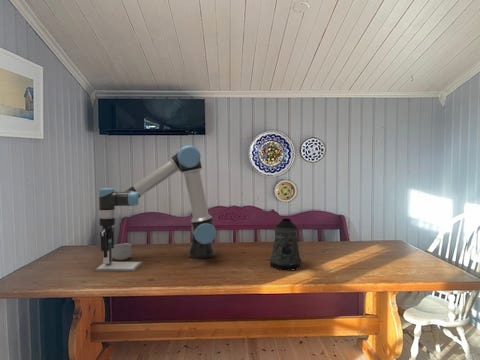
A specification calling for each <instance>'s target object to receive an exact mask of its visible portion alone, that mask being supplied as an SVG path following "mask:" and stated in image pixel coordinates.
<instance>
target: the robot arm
mask: <svg viewBox="0 0 480 360" xmlns="http://www.w3.org/2000/svg"><path fill="white" fill-rule="evenodd" d="M201 157H202V155H201V153H200V150H199V149H198V148H197V147H195V146H194V145H184V146H182V147H181V148H180V149H179V150H178V151H177V152H176V153H175V154H174V155H172V156H171V157H170V158H169V161H167V162H166V163H164V164H162V165H161V166H160V167H159V168H157V169H156V170H154V171H153V172H151V173H149V174H148V175H146V176H145V177H144V178H142V179H141V180H139V181H138V182H136V183H135V184H133V185H132V186H131V187H129V188H127V189H126V190H124V191H115V188H114V187H101V188H100V189H99V195H98V205H99V209H98V210H99V211H98V213H99V226H101V227H102V231H100V232H99V235H100V251H101V252H102V254H103V255H102V256H103V257H102V258H103V263H102V264H109V251H108V244H109V239H111V249H112V248H114V247H113V246H114V245H115V227H113V226H115V224H116V209H115V208H116V207H135V206H138V205H139V200H140V198H141V197H142V196H144V195H145V194H147V193H148V192H150V191H151V190H153V189H154V188H156V187H157V186H158V185H160V184H161V183H163V182H165V180H168V179H169V178H170V177H172V176H173V175H174V174H176V173H177V172H180V173H181V174H182V175H184V179H185V180H184V181H185V183H186V184H185V185H186V190H187V193H188V199H189V203H190V204H189V205H190V208H191V213H192V217H191V220H190V224H191V244H190V246H189V249H188V257H190V258H193V259H209V258H212V257H214V256H215V249H214V247H213V241H214V240H215V239H216V236H217V229H216V227H215V225H214V221H213V216H212V215H210V214H209V210H208V205H207V198H206V194H205V190H204V189H205V188H204V185H203V182H202V181H203V180H202V176H201V172H202V169H203V167H202V161H201ZM208 257H209V258H208Z"/></svg>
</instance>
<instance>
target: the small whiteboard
mask: <svg viewBox="0 0 480 360" xmlns="http://www.w3.org/2000/svg"><path fill="white" fill-rule="evenodd" d="M142 264H143V261H112V264H110V265H105V264H103V263H101V264H100V265H99V266H97V267H96V268H94V271H95V272H135V271H136V270H137V269H138V268H139V267H140V266H141V265H142Z"/></svg>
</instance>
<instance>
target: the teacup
mask: <svg viewBox="0 0 480 360" xmlns="http://www.w3.org/2000/svg"><path fill="white" fill-rule="evenodd" d="M113 247H114V248H112V259H115V261H126V260H128V259H129V258H130V257H131V255H132V244H131V243H127V242H125V243H119V244H114V246H113Z"/></svg>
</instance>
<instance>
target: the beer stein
mask: <svg viewBox="0 0 480 360" xmlns="http://www.w3.org/2000/svg"><path fill="white" fill-rule="evenodd" d="M273 230H274V232H275V233H274V234H275V236H274V242H273V248H272V251H271V255H270V258H269V263H270V267H271V268H272V267H273V268H272V269H274V268H276V269H281V270H292V269H297V268H299V267H300V268H301V264H302V259H301V257H300V252H299V241H298V236H297V233H298V231H299V227H297V225H295V224H294V222H292V221H291V219H290V218H282V219H281V221H280V222H279V223H277V224H276V225H275V227H274V229H273ZM276 269H275V270H276ZM281 270H280V271H281ZM297 270H298V269H297ZM292 271H293V270H292Z"/></svg>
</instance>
